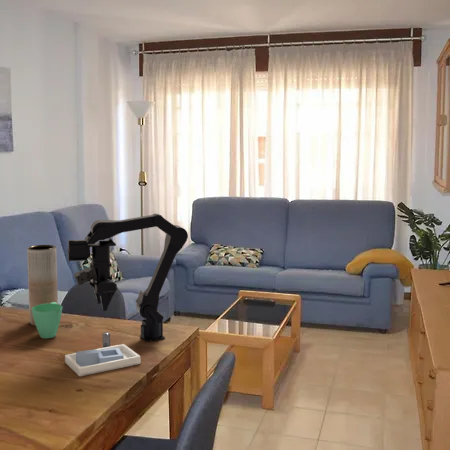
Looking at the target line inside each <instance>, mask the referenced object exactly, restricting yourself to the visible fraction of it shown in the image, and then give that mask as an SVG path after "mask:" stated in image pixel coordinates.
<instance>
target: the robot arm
mask: <svg viewBox="0 0 450 450" xmlns="http://www.w3.org/2000/svg"><path fill="white" fill-rule="evenodd" d="M150 228H158V229H159V230H160V231H162V232H163V233H165V238H164V245H163V246H164V247H163V250H162V254H161V255H160V258H159V260H158V262H157V264H156V267H155V269H154V272H153V275H152V277H151V280H150V282H149V284H148V286H147V288H146V289H144V291H142V290H139V292H138V297H137V298H136V299H135V303H136V304H135V307H136V310H137V312H138V313H139V315H140V316H141V317H142V318H143V319H142V320H141V324H140V335H139V337H140V338H142V339H143V340H144V341H146V342H148V343H149V342H155V341H160V340H165V339H166V336H164V332H163V331H164V327H163V326H164V321H163V320H164V316H163V314H162V313H161V312H160V311H159V309H158V308H159V305H160V304H159V303H160V293H161V291H162V288H163V286H164V284H165V281H166V279H167V277H168V275H169V272H170V270H171V267H172V266H173V263H174V260H175V258H176V256H177V254H178V253H179V252H180V251H181V250H182V249H183V247H184V245H185V244H186V242H187V241H188V240H189V239H188V238H189V234H188V231H187V230H186V229H185V228H184V227H183V226H179V225H177V224H173V223H172V222H170V221H168V220H167V219H166V218H164V217H163V215H161V214H159V213H153V214H150V215H145V216H138V217H137V216H136V217H132V218H125V219H121V220H120V219H119V220H116V219H115V220H113V219H112V220H111V219H97V220H95V221H93V222H92V224H91V225H90V231H89V232H88V234H87V235H86V236H85V237H84V239H68V241H67V242H68V243H67V249H66V250H67V261H68V262H84V261H85V262H86V261H87V260H88V259H89V258H91V262H90V263H89V267H87V268H86V267H85V268H84V269H81V270H78V271H76V272H75V273H73V276H74V279H75V282H76V283H77V285H78V286H82V285H84V284H85V283H87V282H88V284H89V285H90V286H91V287H92V288H93V291H94V295H95V298H96V302H97V304H99V305H100V304H101V308H102V311H103V312H106V311H108V308H109V306H110V303H111V301H112V299H113V297H114V295H115V293H116V291H118V283H116V282H115V281H114V280H113V278H112V277H113V276H112V275H111V267H113V266H112V265H113V263H112V262H111V247H116V246H117V243H116V242H115V241H114V240H113V239H112V238H113V237H115V236H118V235H119V234H123V233H127V232H132V231H138V230H144V229H150Z"/></svg>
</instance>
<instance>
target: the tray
mask: <svg viewBox="0 0 450 450" xmlns="http://www.w3.org/2000/svg"><path fill="white" fill-rule="evenodd" d="M112 348H119V349H120V351H121V352H122V354H123V355H124V359H119V360H115V361H110V362H105V363H100V364H95V365H88V366H79V365H78V364H77V363H76V352H73V353H69V354H65V355H64V363H65V364H66V365H67V366H68V368H70V369H71V370H72V371H73V372H74V373H75V374H76V375H77V376H78V377H84V376H88V375H94V374H99V373H103V372H108V371H113V370H117V369H122V368H123V369H124V368H126V367H133V366H137V365H140V364H141V363H142V362H141V361H142V360H141V358H142V357H141V355H140V354H139V353H138V352H135V351H134V350H133V349H132V348H130V347H129V346H127V345H126V344H125V343H122V344H116V345H110V347H105V348H103V347H100V348H96V349H97V350H104V349H112ZM141 365H142V364H141Z"/></svg>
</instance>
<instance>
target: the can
mask: <svg viewBox="0 0 450 450" xmlns="http://www.w3.org/2000/svg"><path fill="white" fill-rule="evenodd" d="M110 346H111V332H109V331H107V332H103V333H102V348H105V347H110Z"/></svg>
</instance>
